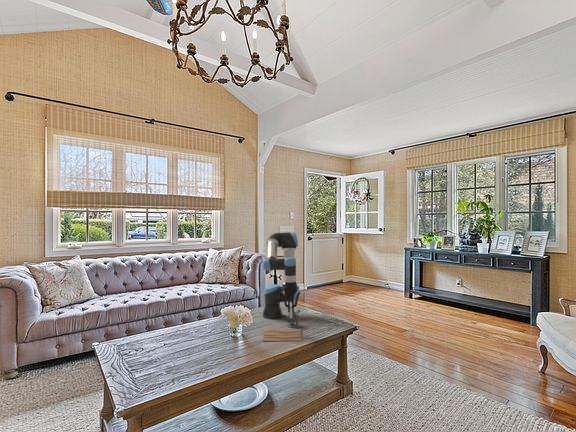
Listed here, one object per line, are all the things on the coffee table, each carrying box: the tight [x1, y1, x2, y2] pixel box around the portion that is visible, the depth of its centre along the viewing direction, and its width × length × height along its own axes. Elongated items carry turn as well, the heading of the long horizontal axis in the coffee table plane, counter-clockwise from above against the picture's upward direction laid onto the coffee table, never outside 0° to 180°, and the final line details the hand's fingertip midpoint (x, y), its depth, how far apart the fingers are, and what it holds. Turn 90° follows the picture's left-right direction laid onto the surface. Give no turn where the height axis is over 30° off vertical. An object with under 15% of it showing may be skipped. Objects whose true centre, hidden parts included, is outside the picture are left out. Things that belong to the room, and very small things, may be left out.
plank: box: [263, 328, 302, 337], centre depth 203 cm, size 9×24×1 cm, turn 91°
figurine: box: [285, 309, 303, 329], centre depth 216 cm, size 11×11×12 cm
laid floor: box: [262, 334, 303, 343], centre depth 194 cm, size 9×24×1 cm, turn 91°
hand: (291, 317), depth 204 cm, fingers closed
